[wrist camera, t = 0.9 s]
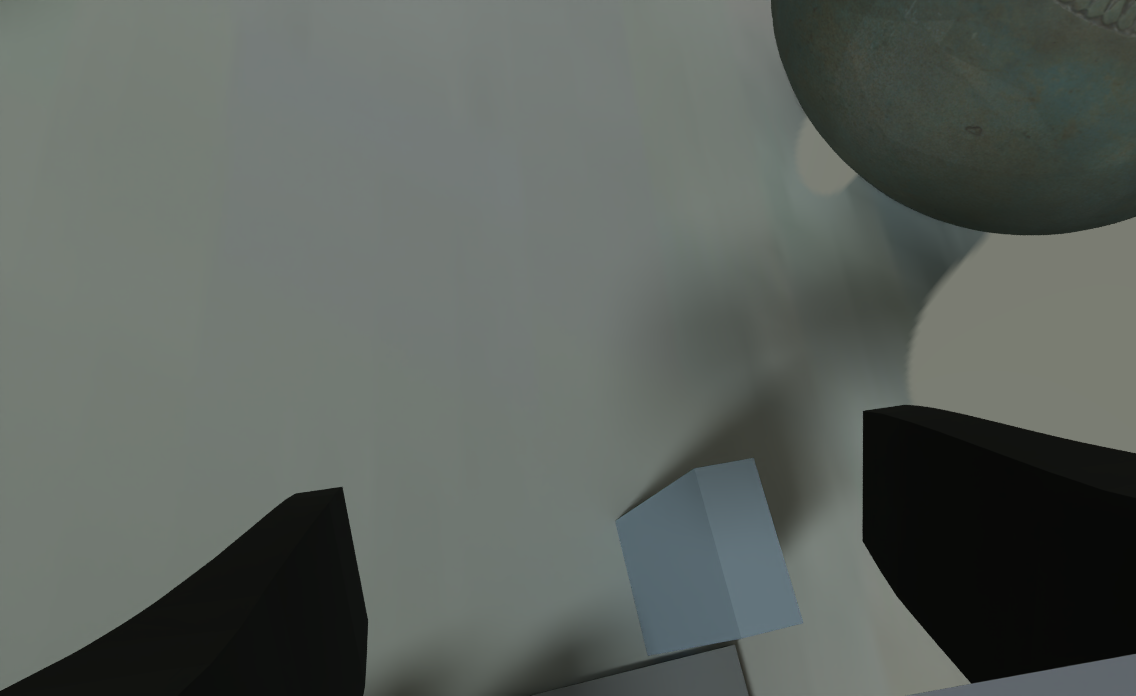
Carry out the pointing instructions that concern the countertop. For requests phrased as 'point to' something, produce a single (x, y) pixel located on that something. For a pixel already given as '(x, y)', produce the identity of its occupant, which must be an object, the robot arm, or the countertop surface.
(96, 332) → the countertop surface
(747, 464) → the tile
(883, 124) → the flask
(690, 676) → the runner mat
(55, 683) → the robot arm
